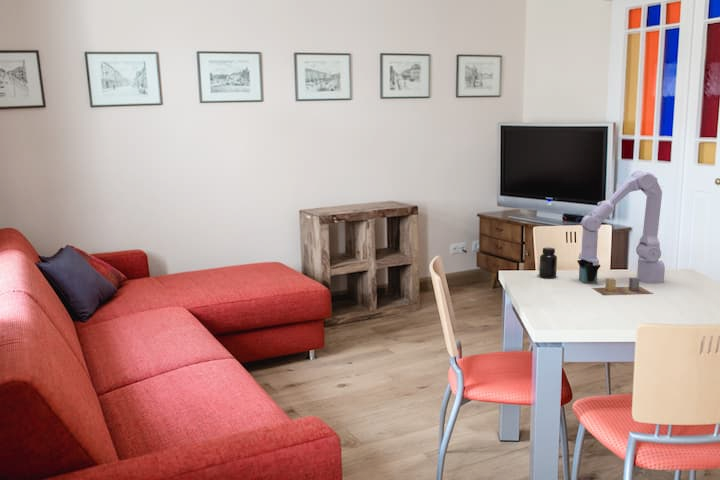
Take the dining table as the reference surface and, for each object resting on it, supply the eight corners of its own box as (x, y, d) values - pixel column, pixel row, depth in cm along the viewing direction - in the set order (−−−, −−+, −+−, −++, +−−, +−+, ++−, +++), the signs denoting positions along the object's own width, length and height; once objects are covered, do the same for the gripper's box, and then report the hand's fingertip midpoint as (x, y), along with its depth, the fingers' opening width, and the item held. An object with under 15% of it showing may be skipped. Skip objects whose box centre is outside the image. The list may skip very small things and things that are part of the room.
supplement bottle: (558, 278, 271) (559, 249, 269) (541, 278, 271) (542, 250, 269) (553, 274, 277) (554, 246, 275) (537, 275, 278) (538, 246, 275)
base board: (639, 288, 254) (639, 286, 254) (653, 295, 243) (654, 293, 243) (591, 289, 253) (591, 287, 252) (603, 297, 242) (603, 295, 242)
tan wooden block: (612, 290, 249) (612, 278, 248) (615, 291, 246) (615, 279, 245) (605, 290, 249) (605, 278, 248) (608, 292, 246) (609, 280, 245)
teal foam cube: (591, 281, 266) (592, 266, 265) (596, 284, 261) (597, 269, 260) (578, 281, 265) (579, 267, 264) (583, 284, 260) (584, 269, 259)
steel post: (635, 289, 249) (636, 277, 248) (638, 291, 247) (639, 279, 246) (628, 289, 249) (629, 277, 248) (631, 291, 246) (632, 279, 246)
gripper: (572, 242, 267) (571, 275, 270) (586, 249, 253) (585, 284, 255) (589, 242, 268) (588, 275, 270) (604, 249, 253) (603, 283, 256)
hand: (587, 279), depth 263 cm, fingers closed on teal foam cube, 5 cm apart
